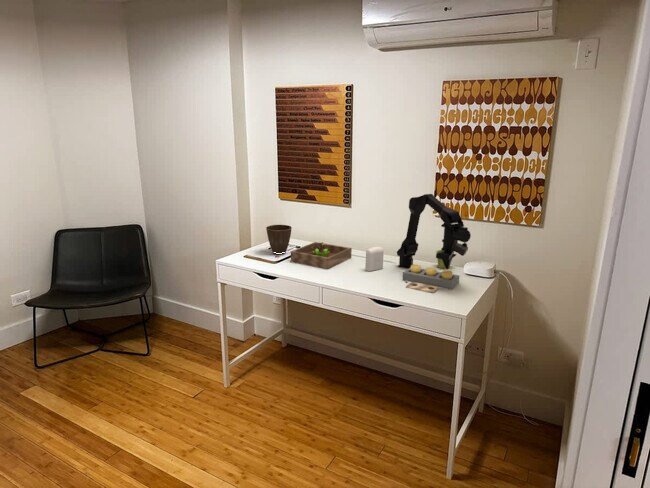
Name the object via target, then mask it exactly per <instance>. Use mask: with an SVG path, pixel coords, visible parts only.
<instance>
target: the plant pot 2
mask: <svg viewBox="0 0 650 488" xmlns="http://www.w3.org/2000/svg"><path fill="white" fill-rule="evenodd" d="M440 251H443V250H441V249H439V250H436V251H435V254H437V253H438V252H440ZM436 260H437V267H438V269H443V270H447V269H446V268H445V265H444V263H443V260H442V259H438V258H436ZM450 267H451V265H450V266H449V269H450Z"/></svg>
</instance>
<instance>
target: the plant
mask: <svg viewBox="0 0 650 488" xmlns="http://www.w3.org/2000/svg"><path fill="white" fill-rule="evenodd" d="M319 243H320V246H321V248H319V247H318V246H312V249H313V248H314V247H317V248H318V249H317V248H316V250H315V251H313V253H308V254H311V255H317V256H322V257H327V258H328V257H330V256H332V255H334V254H335V253H331V252H330V251H329V252H327V250H328V249H324V250H323V246H324V242H319Z"/></svg>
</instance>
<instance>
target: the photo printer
mask: <svg viewBox="0 0 650 488" xmlns="http://www.w3.org/2000/svg"><path fill="white" fill-rule="evenodd" d="M383 268H384V248H383V247H380V246H373V247H370V248H368V249H367V250H366V251H365V271H367V272H372V271H378V270H383Z"/></svg>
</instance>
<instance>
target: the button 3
mask: <svg viewBox="0 0 650 488" xmlns="http://www.w3.org/2000/svg"><path fill="white" fill-rule="evenodd" d="M441 272H442V277H441V278H444V279H449V280H451V279H452V274H453V271H452V270H450V269H443V270H441Z"/></svg>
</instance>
